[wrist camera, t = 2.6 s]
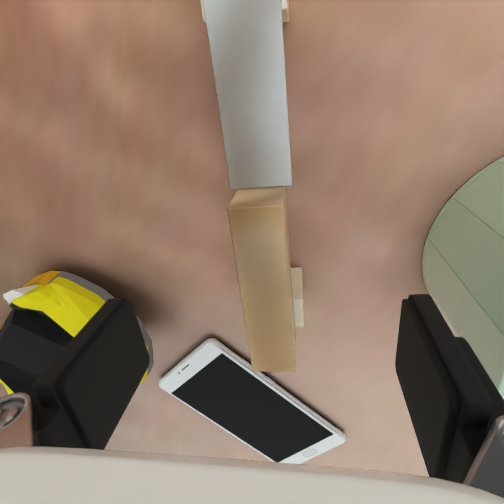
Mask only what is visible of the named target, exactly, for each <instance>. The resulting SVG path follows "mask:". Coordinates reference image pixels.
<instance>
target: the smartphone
mask: <svg viewBox="0 0 504 504" xmlns="http://www.w3.org/2000/svg"><path fill="white" fill-rule="evenodd" d="M158 385H159V387H160V388H161V389H163V390H164V391H166V392H167V393H169V394H170V395H172V396H173V397H175V398H177V399H178V400H180V401H181V402H183V403H184V404H186V405H187V406H189V407H190V408H192V409H193V410H195V411H196V412H198V413H199V414H201V415H202V416H204V417H205V418H207V419H209V420H210V421H212V422H213V423H215V424H216V425H218V426H219V427H221V428H222V429H224V430H225V431H227V432H228V433H230V434H231V435H233V436H234V437H236V438H237V439H239V440H241V441H242V442H244V443H245V444H247V445H248V446H250V447H251V448H253V449H254V450H256V451H257V452H259V453H260V454H262V455H263V456H265V457H266V458H268V459H269V460H271V461H272V462H279V463H292V464H301V463H303V462H305V461H308V460H310V459H312V458H314V457H316V456H318V455H320V454H322V453H324V452H326V451H328V450H330V449H332V448H334V447H336V446H339V445H341V444H343V443H344V442H345V440H346V436H345V434H344V433H343V432H342V431H340V430H339V429H338V428H336V427H335V426H334V425H332V424H331V423H330V422H328V421H327V420H325V419H324V418H323V417H321V416H320V415H319V414H317V413H316V412H315V411H313V410H312V409H310V408H309V407H308V406H306V405H305V404H304V403H302V402H301V401H300V400H298V399H297V398H295V397H294V396H293V395H291V394H290V393H289V392H287V391H286V390H285V389H283V388H282V387H280V386H279V385H278V384H276V383H275V382H274V381H272V380H271V379H270V378H268V377H267V376H265V375H264V374H263V373H262V372H260V371H253V370H252V365H251V364H249V363H248V362H247V361H245V360H244V359H242V358H241V357H240V356H238V355H237V354H236V353H234V352H233V351H231V350H230V349H229V348H227V347H226V346H225V345H223V344H222V343H221V342H219V341H218V340H216V339H214V338H209V339H207V340H205V341H204V342H203V343H202V344H201V345H199V346H198V347H197V348H196V349H195V350H194V351H192V352H191V353H190V354H189V355H188V356H187V357H185V358H184V359H183V360H182V361H181V362H179V363H178V364H177V365H176V366H175V367H174V368H172V369H171V370H170V371H169V372H168V373H167V374H165V375H164V376H163V377H162V378H161V379H160V380H159V381H158Z"/></svg>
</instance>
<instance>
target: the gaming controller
mask: <svg viewBox="0 0 504 504" xmlns="http://www.w3.org/2000/svg"><path fill="white" fill-rule="evenodd" d="M3 297H4V299H5V300H6V301H7V302H8V303H9V304H10V307H12V308H13V310H12V311H11V313H10V314H9V316H8V318H7V319H6V321H5V322H4V324H3V325H1V326H0V383H2V384H3V385H4V386H5V388H6V390H7V392H8V394H12V393H18V392H21V393H26V394H28V395H29V396H30V395H31V393H32V392H33V391H34V390H33V388H32V387H31V385H32V384H33V383H34V382H35V381H36V380H37V378H38V377H39V376H40V375H41V374H42V373H43V372H44V371H45V369H46V368H47V367H48V366H49V365H50V364H51V363H52V362H53V360H54V359H55V358H56V357H57V356H58V355H59V354H60V353H61V351H62V350H63V349H64V348H65V347H66V346H67V345H68V344H69V343H70V341H71V340H72V339H73V338H74V337H75V336H76V335H77V334H78V332H79V331H80V330H81V329H82V328H83V327H84V326H85V325H86V323H87V322H88V321H89V320H90V319H91V318H92V317H93V316H94V314H95V313H96V312H97V311H98V310H99V309H100V308H101V307H102V305H103V304H104V303H105V302H106V301H107V300H108V299H111V298H114V297H113V296H112V295H111V294H109V293H108V292H107V291H106V290H104V289H103V288H102V287H99V286H97V285H95V284H93V283H91V282H90V281H88V280H85V279H84V278H81V277H79V276H77V275H74V274H71V273H68V272H65V271H48V272H45V273H42V274H39V275H37V276H36V277H34V278H33V279H32V280H30V281H29V282H28V283H27V284H25V285H24V286H23V287H21V288H19V289H14V290H11V291H9V292H7V293H5V294H3ZM136 317H137V320H138V323H139V326H140V329H141V332H142V335H143V338H144V341H145V344H146V347H147V350H148V353H149V357H150V363H149V367H148V369H147V371H146V372H145V374H144V376H143V378H142V380H141V382H140V383H142V382H143V381H144V380H145V379H146V378H147V376H148V375H149V373H150V371H151V369H152V366H153V362H154V361H153V349H152V340H151V338H150V337H149V335H148V333H147V331H146V329H145V328H144V326H143V324H142V322H141V320H140V318H139V317H138V316H137V315H136Z"/></svg>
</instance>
